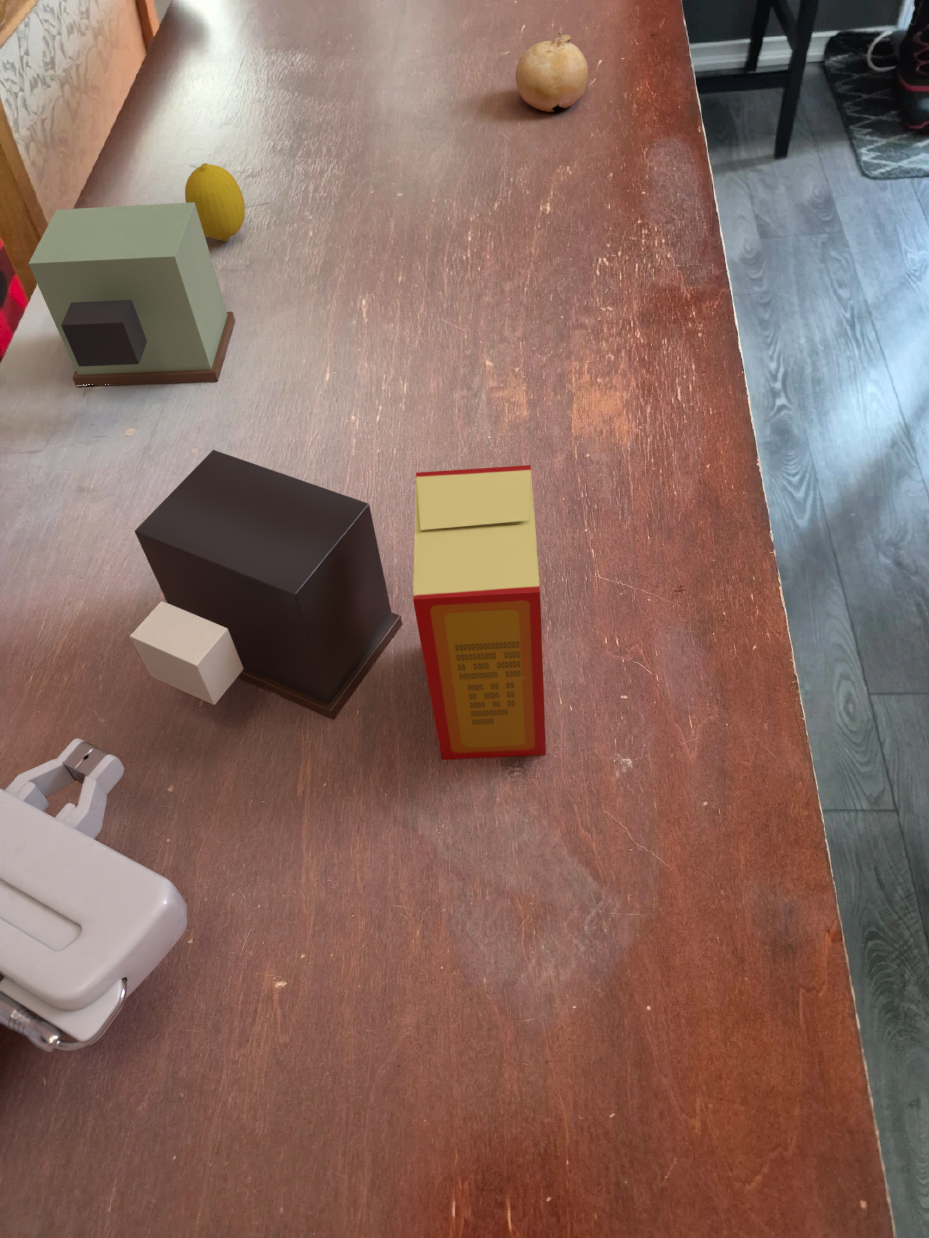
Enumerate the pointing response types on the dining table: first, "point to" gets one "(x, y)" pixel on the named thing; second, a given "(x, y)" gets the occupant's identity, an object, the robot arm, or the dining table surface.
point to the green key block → (139, 287)
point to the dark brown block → (104, 333)
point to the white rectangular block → (187, 652)
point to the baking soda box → (480, 610)
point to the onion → (552, 74)
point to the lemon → (216, 201)
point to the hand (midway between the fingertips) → (102, 752)
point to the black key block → (276, 576)
